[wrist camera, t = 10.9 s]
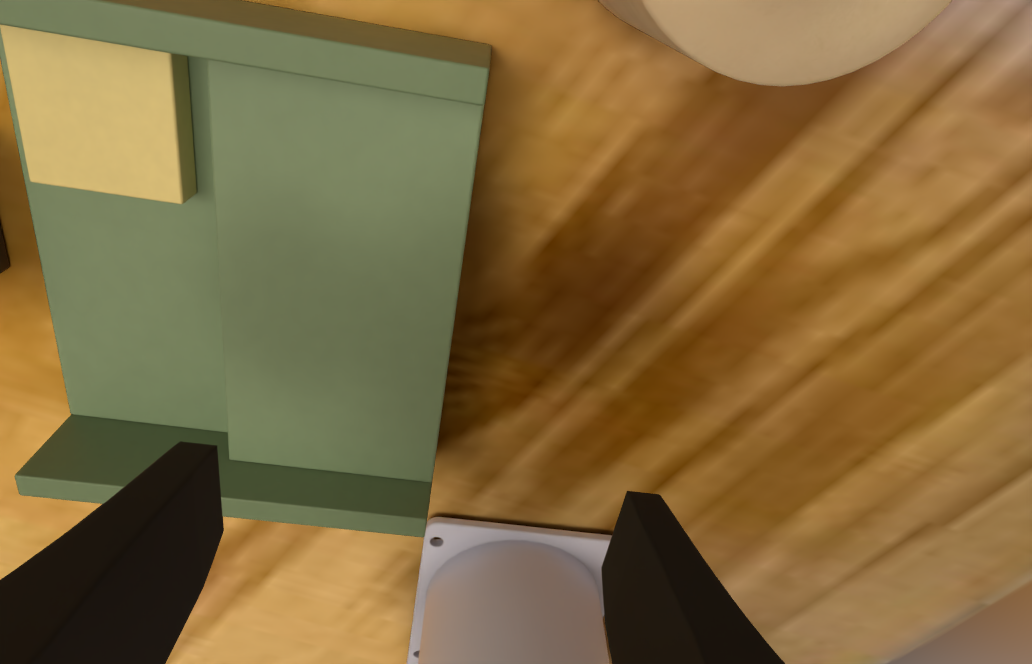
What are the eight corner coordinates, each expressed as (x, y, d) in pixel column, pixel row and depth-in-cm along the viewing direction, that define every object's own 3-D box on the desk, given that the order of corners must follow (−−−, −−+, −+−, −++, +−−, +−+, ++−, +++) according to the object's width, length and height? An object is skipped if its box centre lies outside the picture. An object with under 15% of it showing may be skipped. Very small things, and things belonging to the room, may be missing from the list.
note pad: (198, 193, 18) (182, 205, 17) (51, 171, 18) (28, 182, 17) (188, 45, 16) (170, 50, 16) (24, 17, 16) (-3, 21, 15)
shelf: (435, 451, 25) (424, 538, 21) (94, 411, 23) (18, 496, 20) (492, 44, 18) (489, 68, 14) (14, -41, 17) (-124, -40, 13)
